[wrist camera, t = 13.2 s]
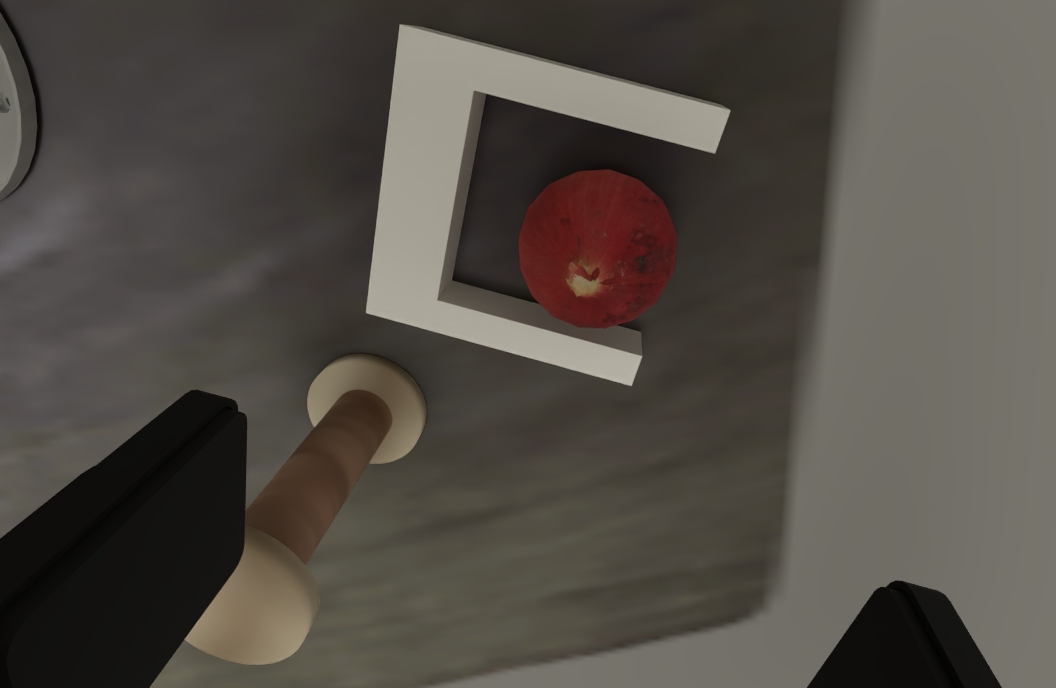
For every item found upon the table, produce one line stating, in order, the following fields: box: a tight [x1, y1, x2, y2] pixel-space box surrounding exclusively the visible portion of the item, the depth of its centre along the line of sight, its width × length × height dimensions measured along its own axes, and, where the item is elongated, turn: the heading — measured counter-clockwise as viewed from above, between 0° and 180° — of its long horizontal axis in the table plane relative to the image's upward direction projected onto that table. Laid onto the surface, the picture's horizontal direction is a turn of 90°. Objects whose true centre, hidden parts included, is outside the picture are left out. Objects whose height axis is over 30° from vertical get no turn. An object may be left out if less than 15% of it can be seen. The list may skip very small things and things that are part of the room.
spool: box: [184, 353, 427, 665], centre depth 26 cm, size 6×6×13 cm
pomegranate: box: [518, 169, 677, 329], centre depth 23 cm, size 6×6×8 cm
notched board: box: [366, 24, 731, 386], centre depth 25 cm, size 12×12×2 cm
